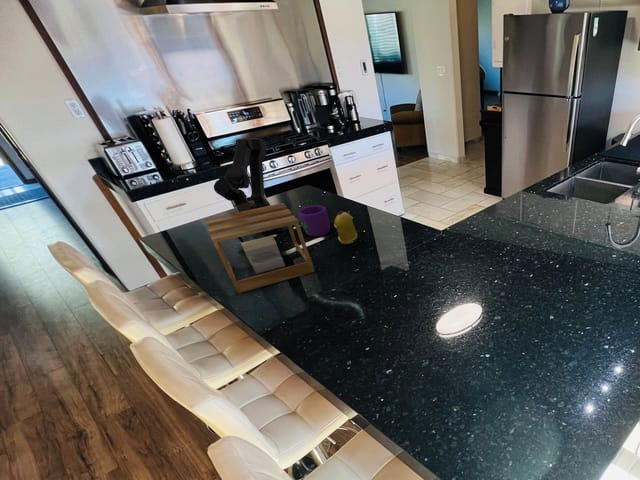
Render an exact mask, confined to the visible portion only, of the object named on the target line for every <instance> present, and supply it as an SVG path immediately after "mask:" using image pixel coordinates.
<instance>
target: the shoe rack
mask: <svg viewBox="0 0 640 480" xmlns="http://www.w3.org/2000/svg"><path fill="white" fill-rule="evenodd" d="M204 222H205V224H206V226H207V230H208V233H209V236H210V239H211V241H212V244H213V246H214V247H215V250H216V252H217V254H218V256H219V258H220V260H221V262H222V264H223V266H224V268H225V269H226V273H227V274H228V277H229V278H230V280H231V282H232V284H233V287H234V289H235V290H236V293H237V294H241V293H245V292H248V291H252V290H255V289H259V288H263V287H265V286H270V285H273V284H277V283H279V282H283V281H287V280H290V279H293V278H297V277H300V276H304V275H308V274H310V273H315V271H316V270H315V268H314V265H313V262H312V259H311V256H310V253H309V250H308V247H307V244H306V241H305V238H304V235H303V232H302V229H301V226H300V224H299V221H298V219H297V218H296V217H295V215H293V213H292V212H291V210H290V209H288V207H287V205H286V204H285V203H284V202H281V203H275V204H272V205H271V204H270V206H266V207H261V208H257V209H252V210H247V211H242V212H238V213H236V212H234V213H228V214H224V215H220V216H215V217H210V218H205V219H204ZM293 226H294V228H295V229H296V233H297V235H298V238H299V241H300V244H301V246H300V245H299V244H298V241H297V238H296V235H295V233H294V229H293ZM284 227H287V229H288V231H289V234H290V237H291V240H292V243H293V246H294V249H295V251H296V252H298V253H299V255H300V256H301V257H302V259H303V262H300V263H296V264H293V265H290V266H287V267H285V268H282V269H278V270H274V271H271V272H267V273H263V274H260V275H253V276H248V277H246V278H242V279H238V280H237V278H236V275H235V273H234V269H233V267H232V265H231V263H230V260H229V258H228V256H227V254H226V252H225V249H224V248H223V245H222V244H221V242H225V241H228V240H233V239H237V238H238V237H242V238H243V237H245V236H251V235H254V234H258V233H261V232H263V231H267V230H272V229H276V228H278V229H280V228H284ZM301 247H302V248H301ZM311 269H313V270H311Z"/></svg>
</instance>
